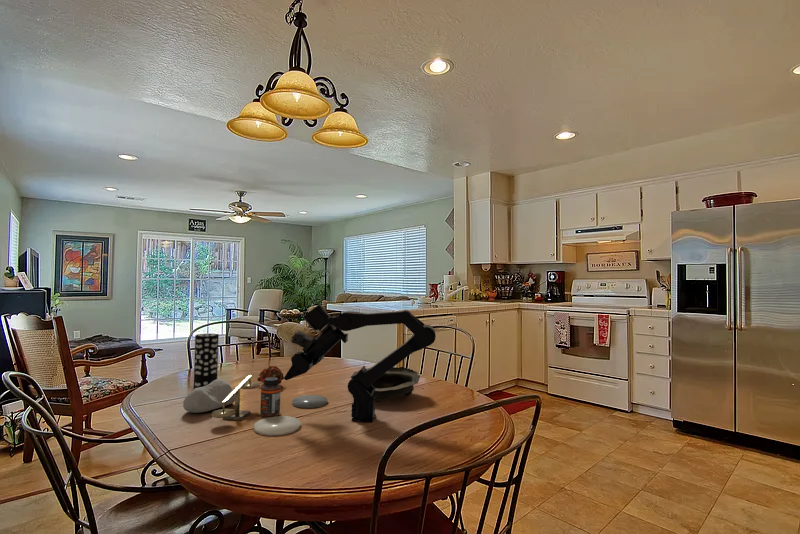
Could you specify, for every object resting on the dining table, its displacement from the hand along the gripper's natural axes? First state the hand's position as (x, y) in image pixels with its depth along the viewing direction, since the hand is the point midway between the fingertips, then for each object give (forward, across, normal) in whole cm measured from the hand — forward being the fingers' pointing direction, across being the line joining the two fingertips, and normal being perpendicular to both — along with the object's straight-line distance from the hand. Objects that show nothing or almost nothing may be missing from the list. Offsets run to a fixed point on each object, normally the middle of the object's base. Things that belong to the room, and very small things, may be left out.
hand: (289, 375), depth 132 cm
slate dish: (+7, -13, +11) cm, 19 cm away
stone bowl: (-11, -25, +29) cm, 40 cm away
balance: (+20, +3, -2) cm, 20 cm away
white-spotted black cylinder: (+40, -29, -22) cm, 53 cm away
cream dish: (+9, +10, +9) cm, 16 cm away
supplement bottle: (+13, 0, +5) cm, 14 cm away
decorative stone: (+28, -2, -10) cm, 30 cm away
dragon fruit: (+22, -33, -4) cm, 40 cm away
